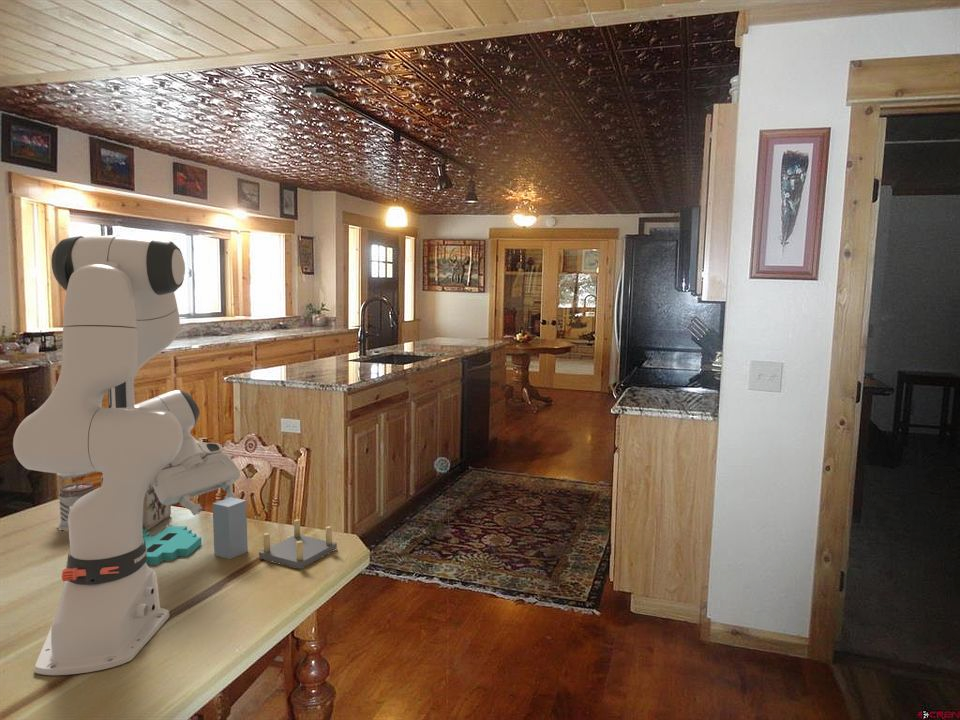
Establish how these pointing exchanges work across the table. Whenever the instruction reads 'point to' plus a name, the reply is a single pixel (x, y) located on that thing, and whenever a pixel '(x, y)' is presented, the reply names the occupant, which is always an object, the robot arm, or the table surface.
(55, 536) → the table surface
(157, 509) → the decorative jar
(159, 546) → the alien figure
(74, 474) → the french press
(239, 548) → the slate block
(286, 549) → the grey peg base
